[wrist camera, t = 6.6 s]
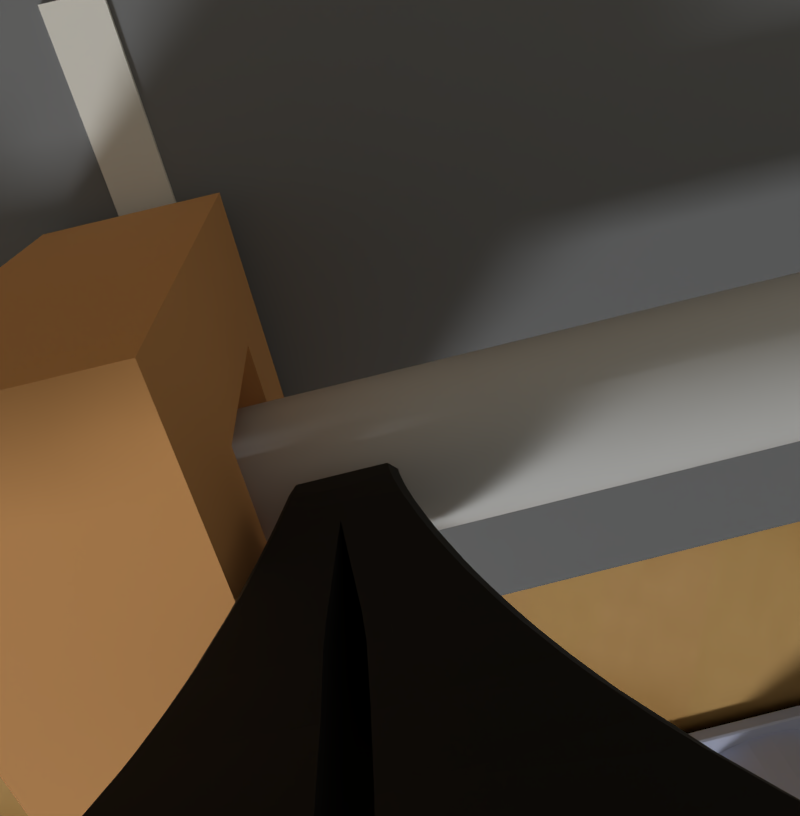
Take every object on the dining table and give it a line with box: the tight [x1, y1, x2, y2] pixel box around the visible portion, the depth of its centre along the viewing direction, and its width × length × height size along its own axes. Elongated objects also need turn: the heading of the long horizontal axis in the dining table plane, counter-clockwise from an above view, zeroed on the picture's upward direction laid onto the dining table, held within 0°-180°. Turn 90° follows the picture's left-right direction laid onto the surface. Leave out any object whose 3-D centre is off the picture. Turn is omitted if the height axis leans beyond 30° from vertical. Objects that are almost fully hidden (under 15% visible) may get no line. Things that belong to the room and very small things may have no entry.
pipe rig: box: [0, 0, 800, 595], centre depth 13 cm, size 14×32×7 cm, turn 102°
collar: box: [0, 193, 284, 816], centre depth 11 cm, size 7×3×7 cm, turn 12°
